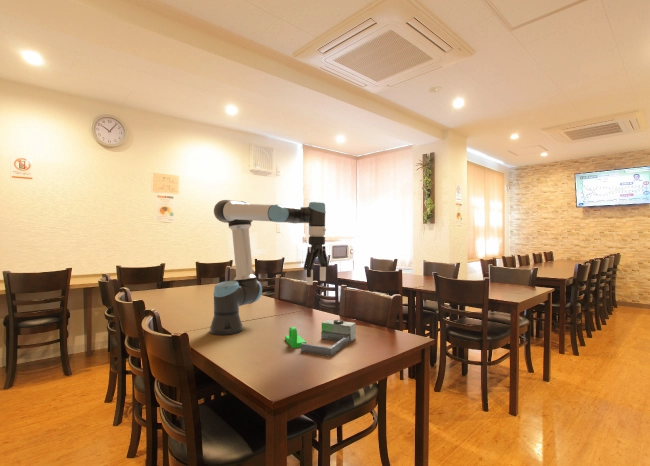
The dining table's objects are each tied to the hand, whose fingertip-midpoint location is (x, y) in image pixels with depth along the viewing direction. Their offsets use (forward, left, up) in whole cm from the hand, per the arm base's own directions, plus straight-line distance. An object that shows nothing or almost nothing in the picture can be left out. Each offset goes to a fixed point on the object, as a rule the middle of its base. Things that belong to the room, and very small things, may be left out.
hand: (316, 282), depth 155 cm
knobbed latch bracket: (+10, -7, -25) cm, 28 cm away
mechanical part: (-4, -11, -25) cm, 28 cm away
